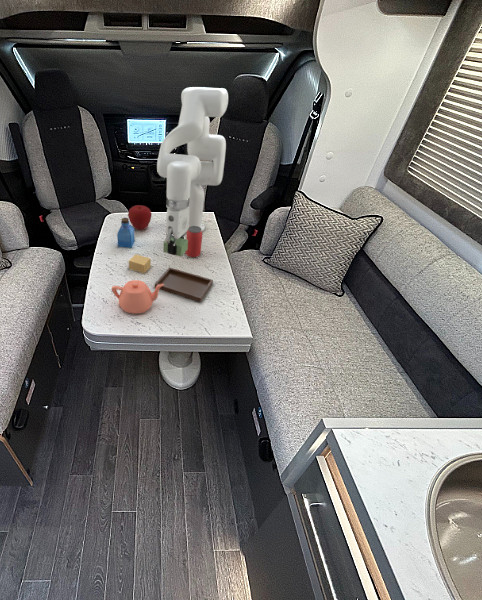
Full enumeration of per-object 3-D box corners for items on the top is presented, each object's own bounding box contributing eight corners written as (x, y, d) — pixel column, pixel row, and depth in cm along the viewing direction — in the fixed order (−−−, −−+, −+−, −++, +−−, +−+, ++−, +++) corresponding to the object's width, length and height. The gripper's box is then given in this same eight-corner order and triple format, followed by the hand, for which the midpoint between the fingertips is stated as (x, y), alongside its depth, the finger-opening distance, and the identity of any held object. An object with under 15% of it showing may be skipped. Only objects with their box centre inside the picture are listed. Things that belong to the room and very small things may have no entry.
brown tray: (169, 271, 137) (169, 267, 136) (212, 284, 131) (213, 279, 129) (154, 288, 128) (154, 283, 127) (200, 302, 122) (200, 298, 121)
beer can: (182, 255, 147) (184, 230, 139) (189, 248, 151) (190, 224, 144) (196, 259, 144) (199, 234, 137) (202, 252, 149) (205, 227, 141)
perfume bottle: (131, 248, 151) (130, 223, 144) (118, 246, 152) (116, 222, 144) (134, 241, 156) (133, 216, 148) (121, 240, 157) (119, 215, 149)
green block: (170, 245, 126) (170, 235, 124) (187, 249, 124) (188, 239, 121) (163, 251, 122) (163, 242, 120) (181, 256, 120) (181, 246, 117)
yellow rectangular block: (135, 262, 142) (135, 254, 140) (150, 266, 140) (150, 258, 137) (129, 269, 138) (128, 260, 136) (144, 273, 136) (143, 265, 133)
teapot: (115, 293, 126) (113, 272, 120) (163, 294, 126) (164, 273, 120) (111, 315, 116) (108, 293, 110) (163, 316, 116) (164, 294, 110)
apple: (155, 226, 167) (155, 203, 160) (144, 235, 160) (144, 212, 153) (136, 221, 171) (135, 199, 164) (124, 230, 164) (123, 207, 157)
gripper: (177, 214, 104) (174, 264, 115) (198, 195, 116) (194, 242, 127) (155, 209, 107) (155, 258, 118) (178, 191, 119) (176, 237, 130)
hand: (175, 249), depth 123 cm, fingers closed on green block, 5 cm apart
